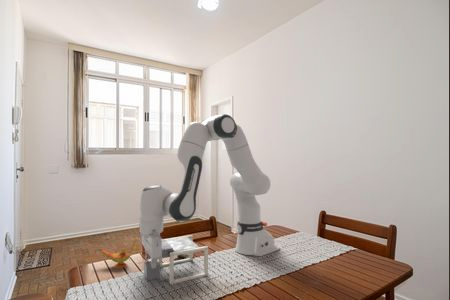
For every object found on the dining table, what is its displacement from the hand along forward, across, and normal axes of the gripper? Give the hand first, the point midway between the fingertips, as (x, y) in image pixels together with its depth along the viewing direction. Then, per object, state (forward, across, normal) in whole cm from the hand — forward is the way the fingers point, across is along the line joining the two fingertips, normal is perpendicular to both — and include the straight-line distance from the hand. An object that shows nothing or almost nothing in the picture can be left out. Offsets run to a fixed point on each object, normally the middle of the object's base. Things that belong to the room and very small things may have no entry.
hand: (150, 263), depth 98 cm
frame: (+5, -1, -12) cm, 13 cm away
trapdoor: (-4, -1, -10) cm, 11 cm away
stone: (+5, 0, 0) cm, 5 cm away
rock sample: (+5, +13, -19) cm, 24 cm away
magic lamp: (+6, +17, +10) cm, 21 cm away
